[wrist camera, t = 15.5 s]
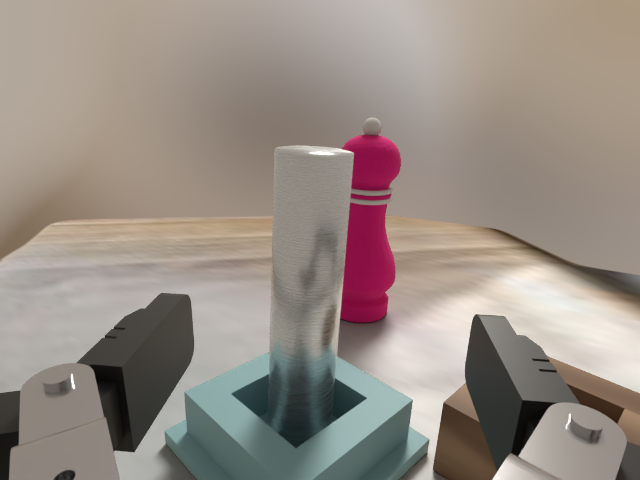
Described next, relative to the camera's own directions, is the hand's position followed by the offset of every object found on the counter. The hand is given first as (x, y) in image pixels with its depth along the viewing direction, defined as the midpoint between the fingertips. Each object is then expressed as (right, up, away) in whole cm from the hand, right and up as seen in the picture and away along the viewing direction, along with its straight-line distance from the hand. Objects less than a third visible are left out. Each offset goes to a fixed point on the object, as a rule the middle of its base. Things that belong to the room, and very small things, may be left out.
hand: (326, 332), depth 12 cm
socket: (-2, -11, +16) cm, 19 cm away
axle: (-2, -10, +16) cm, 18 cm away
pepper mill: (+4, -5, +35) cm, 35 cm away
